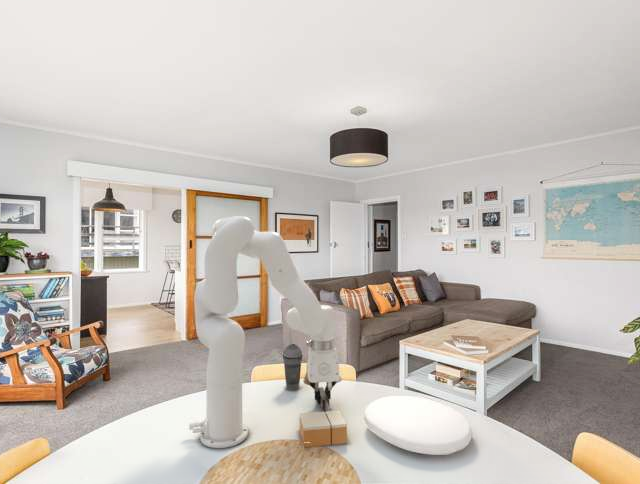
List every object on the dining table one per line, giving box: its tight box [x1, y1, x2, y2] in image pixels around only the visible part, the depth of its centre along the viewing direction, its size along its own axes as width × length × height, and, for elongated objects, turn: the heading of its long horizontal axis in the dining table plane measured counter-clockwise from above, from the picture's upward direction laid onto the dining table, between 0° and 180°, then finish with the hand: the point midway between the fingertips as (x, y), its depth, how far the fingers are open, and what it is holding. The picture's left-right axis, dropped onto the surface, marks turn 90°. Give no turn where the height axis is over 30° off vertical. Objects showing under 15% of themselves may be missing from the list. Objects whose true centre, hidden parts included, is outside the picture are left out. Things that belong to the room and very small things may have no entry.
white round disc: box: [363, 395, 473, 456], centre depth 101 cm, size 28×6×27 cm
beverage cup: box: [282, 331, 304, 391], centre depth 133 cm, size 7×7×20 cm
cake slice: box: [325, 410, 348, 445], centre depth 100 cm, size 4×8×5 cm, turn 9°
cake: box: [299, 411, 332, 448], centre depth 99 cm, size 7×8×5 cm
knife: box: [319, 386, 332, 412], centre depth 114 cm, size 2×19×3 cm, turn 10°
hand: (322, 401), depth 119 cm, fingers closed on knife, 2 cm apart
